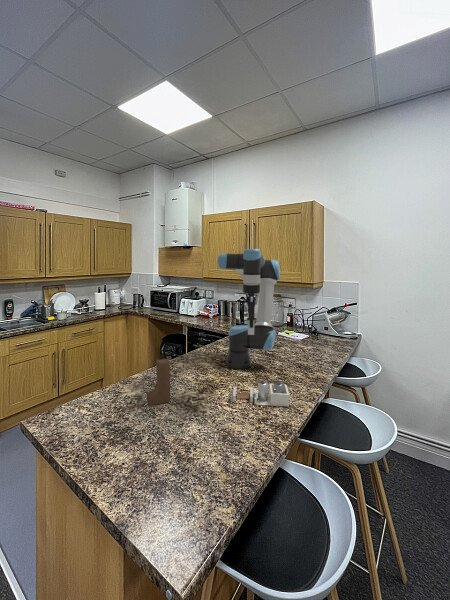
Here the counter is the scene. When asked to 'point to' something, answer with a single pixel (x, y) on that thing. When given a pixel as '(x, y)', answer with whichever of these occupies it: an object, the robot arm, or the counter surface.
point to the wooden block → (161, 384)
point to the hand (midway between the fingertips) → (250, 330)
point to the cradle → (250, 394)
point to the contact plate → (242, 395)
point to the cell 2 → (279, 387)
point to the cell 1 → (262, 391)
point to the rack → (274, 397)
